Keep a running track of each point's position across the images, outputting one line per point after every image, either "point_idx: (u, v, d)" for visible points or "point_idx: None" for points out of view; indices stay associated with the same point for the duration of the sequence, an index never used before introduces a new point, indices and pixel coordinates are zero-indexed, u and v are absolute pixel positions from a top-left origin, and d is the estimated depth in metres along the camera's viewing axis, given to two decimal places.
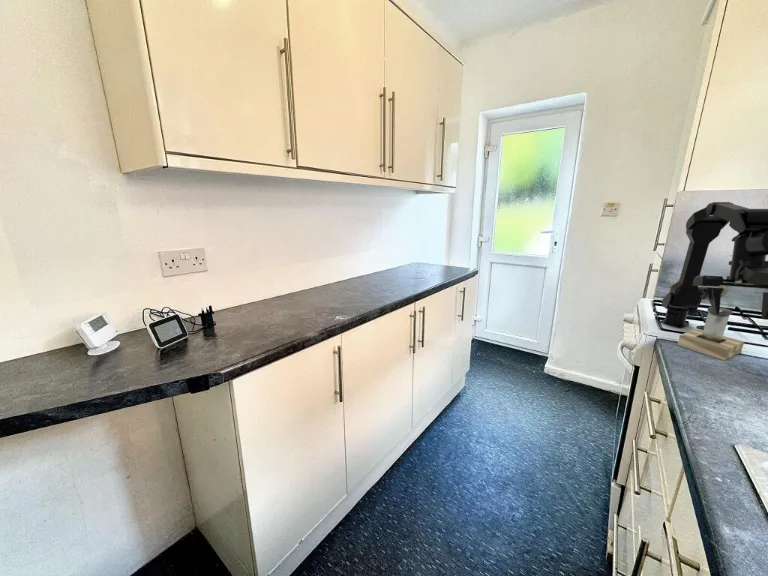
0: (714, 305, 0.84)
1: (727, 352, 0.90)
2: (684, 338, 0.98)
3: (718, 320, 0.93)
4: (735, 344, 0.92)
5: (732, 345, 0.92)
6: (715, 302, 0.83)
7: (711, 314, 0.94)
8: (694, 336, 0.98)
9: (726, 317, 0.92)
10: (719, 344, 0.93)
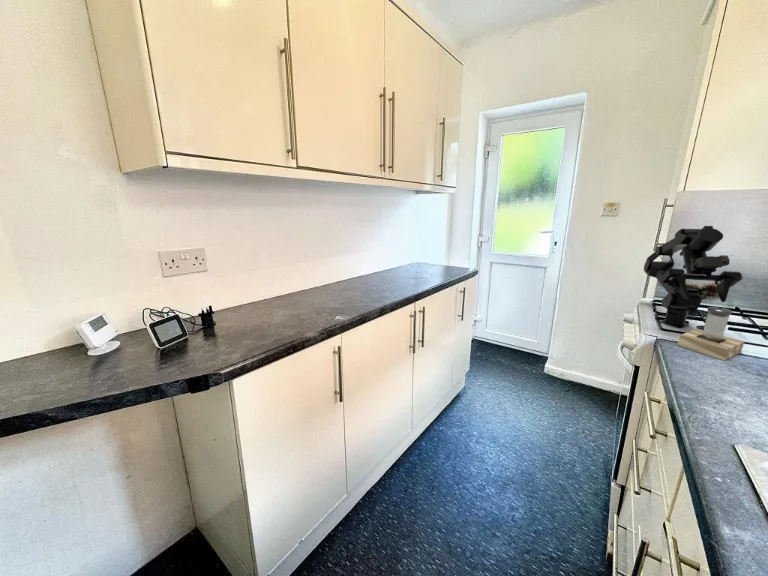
0: (683, 292, 1.03)
1: (727, 352, 0.90)
2: (684, 338, 0.98)
3: (718, 320, 0.93)
4: (735, 344, 0.92)
5: (732, 345, 0.92)
6: (683, 288, 1.03)
7: (711, 314, 0.94)
8: (694, 336, 0.98)
9: (726, 317, 0.92)
10: (719, 344, 0.93)
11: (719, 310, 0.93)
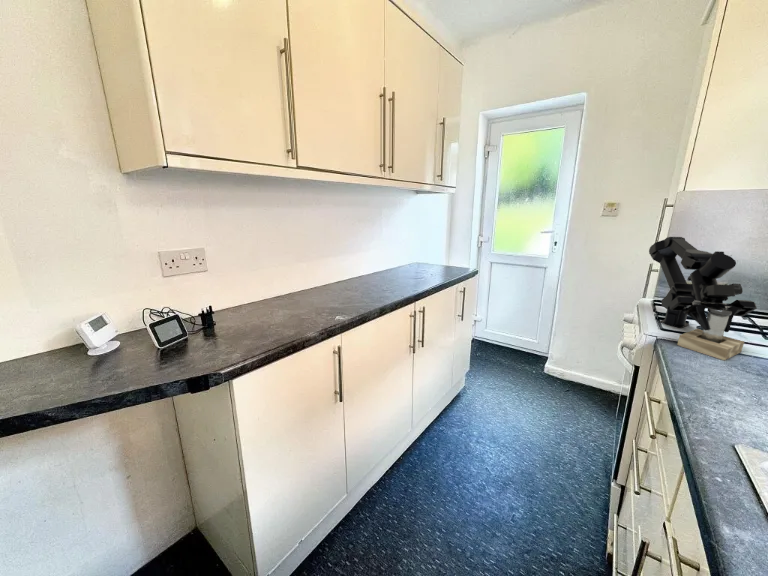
0: (702, 322, 0.96)
1: (727, 352, 0.90)
2: (684, 338, 0.98)
3: (718, 320, 0.93)
4: (735, 344, 0.92)
5: (732, 345, 0.92)
6: (702, 318, 0.96)
7: (711, 314, 0.94)
8: (694, 336, 0.98)
9: (726, 317, 0.92)
10: (719, 344, 0.93)
11: (719, 310, 0.93)
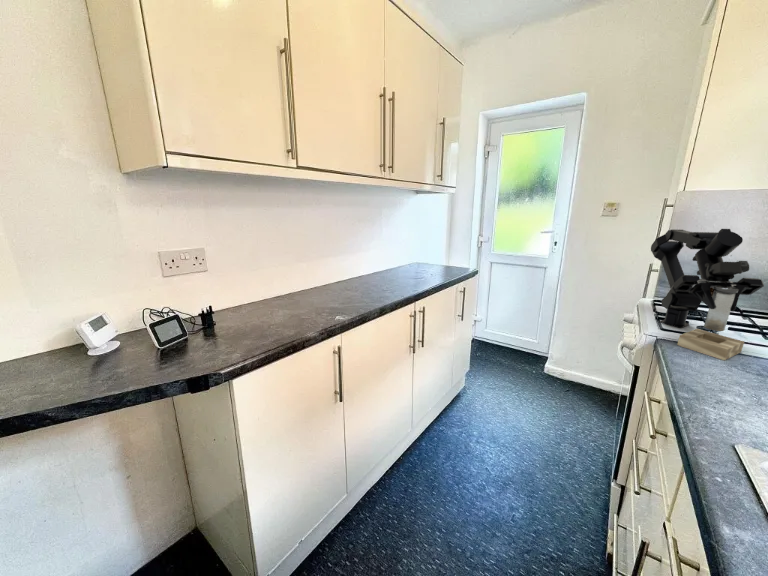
0: (707, 301, 0.94)
1: (727, 352, 0.90)
2: (684, 338, 0.98)
3: (724, 298, 0.91)
4: (735, 344, 0.92)
5: (732, 345, 0.92)
6: (708, 297, 0.94)
7: (717, 292, 0.92)
8: (694, 336, 0.98)
9: (732, 295, 0.90)
10: (719, 344, 0.93)
11: (725, 288, 0.91)
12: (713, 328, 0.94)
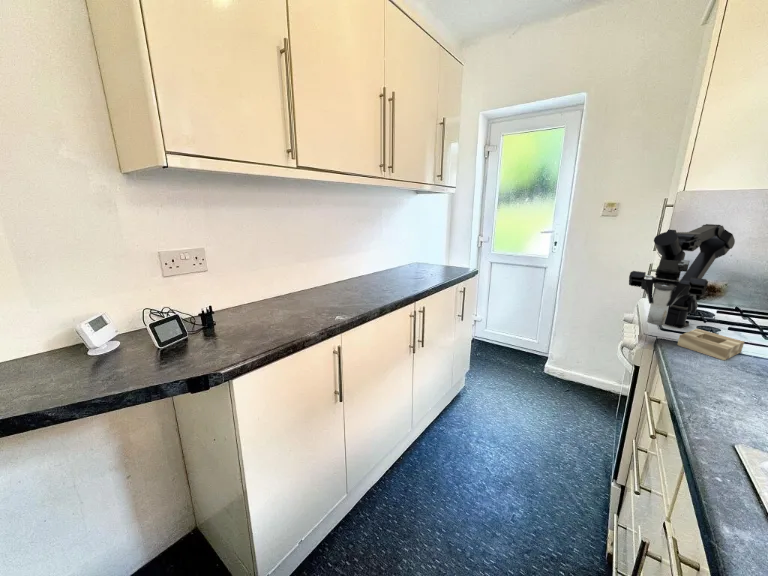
0: (648, 296, 1.02)
1: (727, 352, 0.90)
2: (684, 338, 0.98)
3: (658, 293, 0.98)
4: (735, 344, 0.92)
5: (732, 345, 0.92)
6: (648, 292, 1.01)
7: (654, 288, 0.99)
8: (694, 336, 0.98)
9: (666, 291, 0.97)
10: (719, 344, 0.93)
11: (661, 284, 0.98)
12: (650, 322, 1.01)
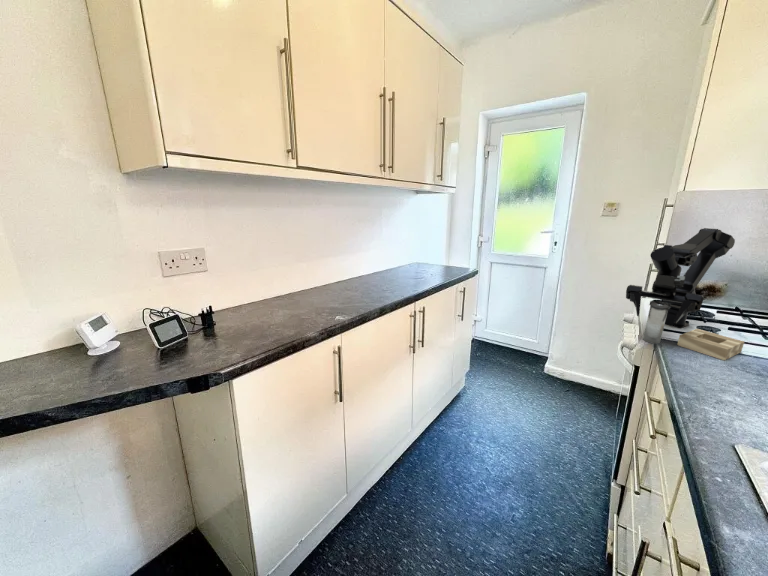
0: (636, 308, 1.04)
1: (727, 352, 0.90)
2: (684, 338, 0.98)
3: (654, 312, 1.00)
4: (735, 344, 0.92)
5: (732, 345, 0.92)
6: (636, 305, 1.04)
7: (650, 307, 1.01)
8: (694, 336, 0.98)
9: (661, 310, 0.98)
10: (719, 344, 0.93)
11: (657, 303, 1.00)
12: (646, 340, 1.03)
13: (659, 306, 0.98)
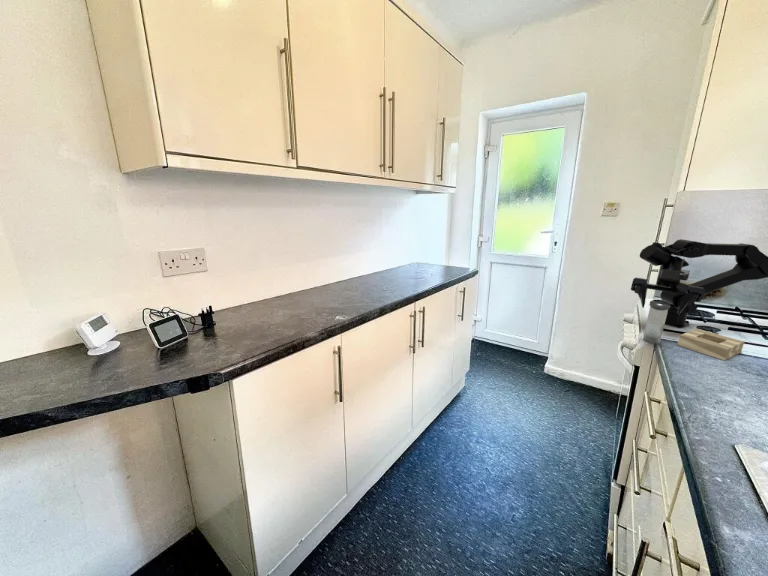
0: (641, 300, 1.10)
1: (727, 352, 0.90)
2: (684, 338, 0.98)
3: (654, 312, 1.00)
4: (735, 344, 0.92)
5: (732, 345, 0.92)
6: (642, 297, 1.10)
7: (650, 307, 1.01)
8: (694, 336, 0.98)
9: (661, 310, 0.98)
10: (719, 344, 0.93)
11: (656, 303, 1.00)
12: (646, 340, 1.03)
13: (659, 306, 0.98)
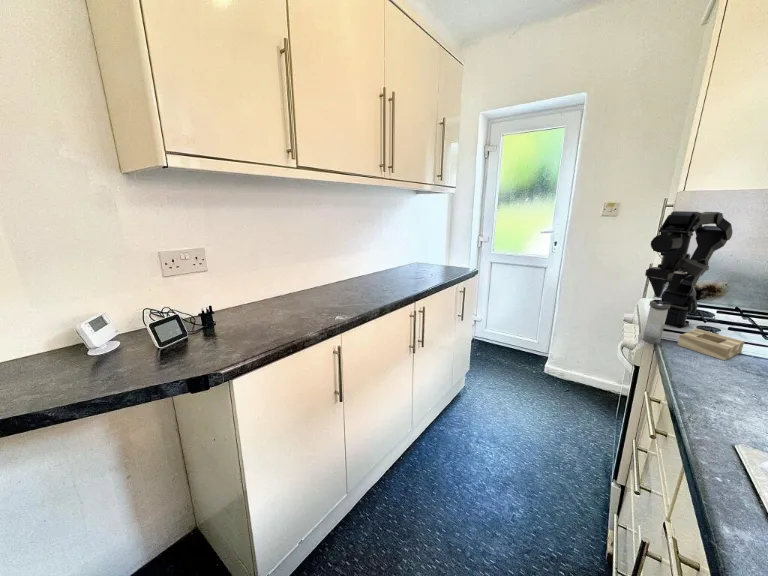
0: (658, 290, 1.05)
1: (727, 352, 0.90)
2: (684, 338, 0.98)
3: (654, 312, 1.00)
4: (735, 344, 0.92)
5: (732, 345, 0.92)
6: (661, 289, 1.04)
7: (650, 307, 1.01)
8: (694, 336, 0.98)
9: (661, 310, 0.98)
10: (719, 344, 0.93)
11: (656, 303, 1.00)
12: (646, 340, 1.03)
13: (659, 306, 0.98)
